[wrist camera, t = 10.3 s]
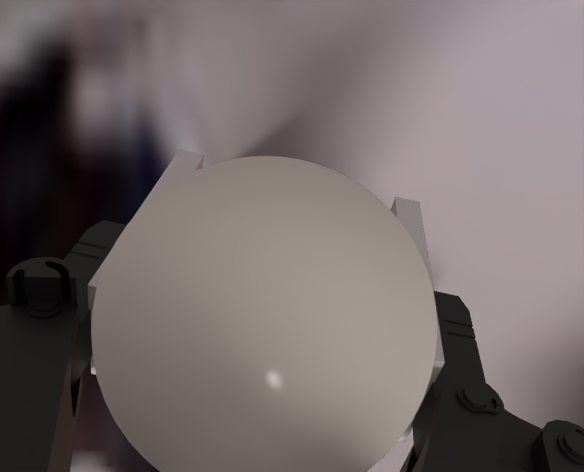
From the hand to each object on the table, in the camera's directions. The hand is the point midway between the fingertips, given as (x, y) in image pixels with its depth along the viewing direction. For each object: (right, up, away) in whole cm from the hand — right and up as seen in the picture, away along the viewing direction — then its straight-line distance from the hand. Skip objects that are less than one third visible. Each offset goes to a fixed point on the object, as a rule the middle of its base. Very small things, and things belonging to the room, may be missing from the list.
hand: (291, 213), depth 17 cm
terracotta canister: (-1, -5, +5) cm, 7 cm away
